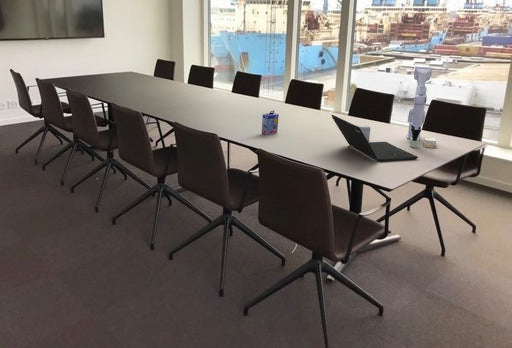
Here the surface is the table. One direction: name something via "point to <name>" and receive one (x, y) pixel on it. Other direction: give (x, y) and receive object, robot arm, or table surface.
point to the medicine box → (365, 131)
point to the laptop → (370, 143)
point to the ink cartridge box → (270, 123)
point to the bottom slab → (429, 145)
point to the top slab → (429, 141)
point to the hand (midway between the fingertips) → (414, 139)
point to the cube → (413, 143)
